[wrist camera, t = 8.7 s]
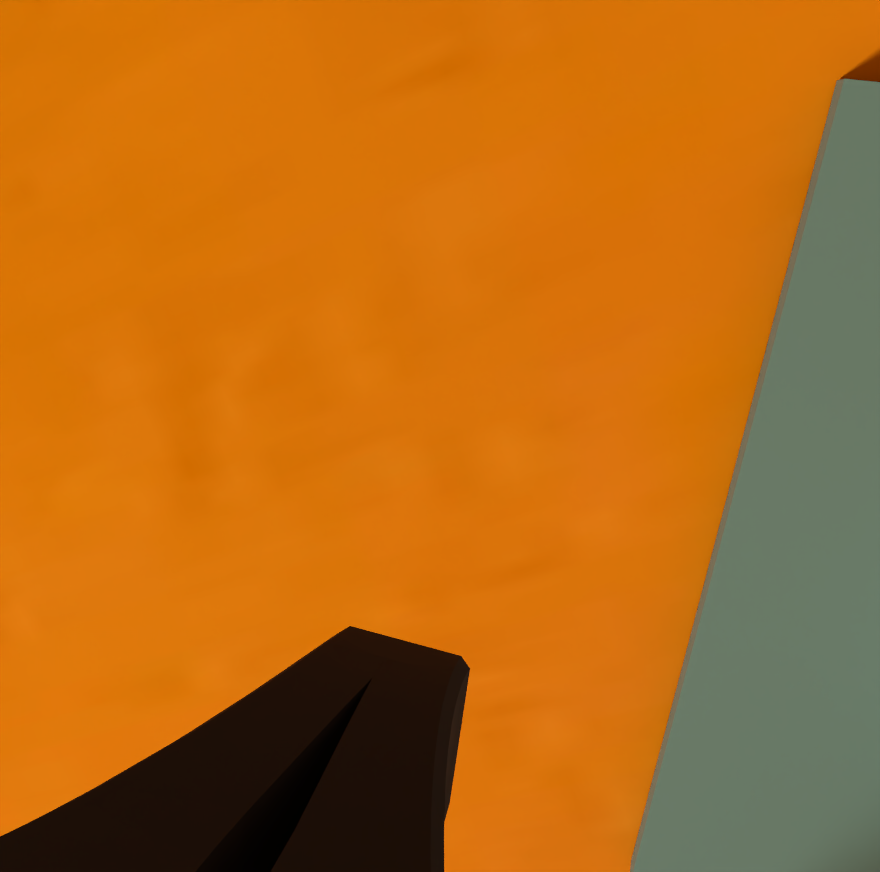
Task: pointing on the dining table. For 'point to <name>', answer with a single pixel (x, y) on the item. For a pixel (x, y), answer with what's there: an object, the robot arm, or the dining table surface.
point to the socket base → (794, 569)
